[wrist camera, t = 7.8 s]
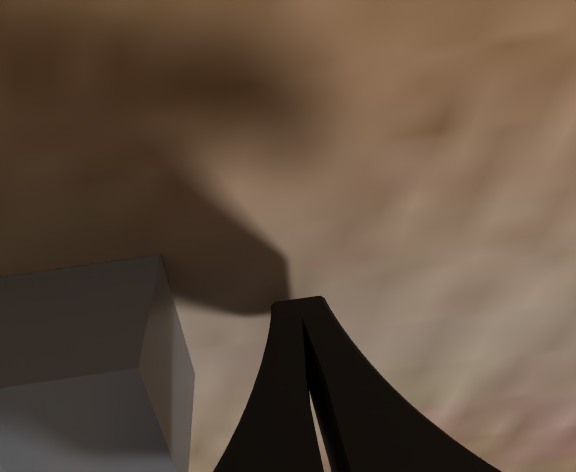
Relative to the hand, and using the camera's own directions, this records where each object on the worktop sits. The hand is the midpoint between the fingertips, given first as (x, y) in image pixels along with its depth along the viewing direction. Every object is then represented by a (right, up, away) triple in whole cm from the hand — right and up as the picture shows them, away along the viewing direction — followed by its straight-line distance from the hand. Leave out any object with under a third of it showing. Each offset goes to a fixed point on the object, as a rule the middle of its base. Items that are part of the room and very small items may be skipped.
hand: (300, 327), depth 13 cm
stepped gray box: (-7, 0, +1) cm, 7 cm away
